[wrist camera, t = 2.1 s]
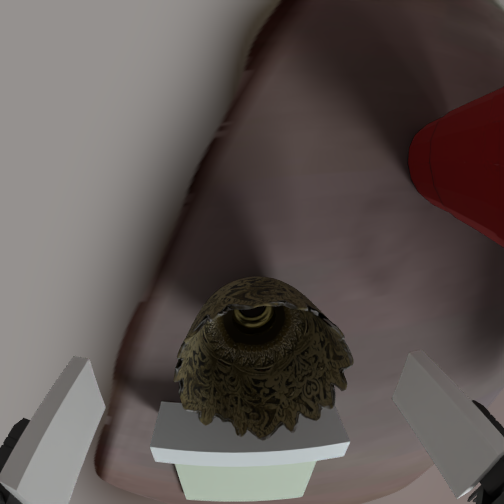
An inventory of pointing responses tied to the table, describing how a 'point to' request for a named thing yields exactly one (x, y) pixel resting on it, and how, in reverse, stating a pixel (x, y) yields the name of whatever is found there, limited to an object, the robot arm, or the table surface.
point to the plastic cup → (465, 164)
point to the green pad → (244, 482)
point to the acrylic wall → (243, 441)
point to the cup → (261, 359)
